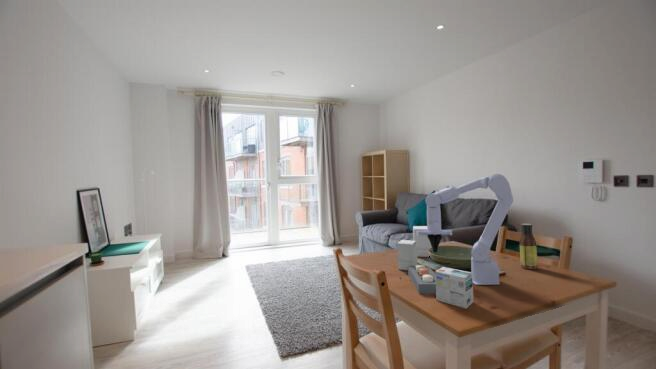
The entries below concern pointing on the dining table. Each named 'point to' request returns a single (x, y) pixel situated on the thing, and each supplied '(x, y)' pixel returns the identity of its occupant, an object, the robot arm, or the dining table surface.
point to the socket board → (418, 281)
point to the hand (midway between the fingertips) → (434, 251)
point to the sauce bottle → (528, 248)
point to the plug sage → (419, 267)
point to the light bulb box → (454, 287)
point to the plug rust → (423, 271)
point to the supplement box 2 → (421, 242)
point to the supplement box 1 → (406, 254)
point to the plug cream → (427, 278)
